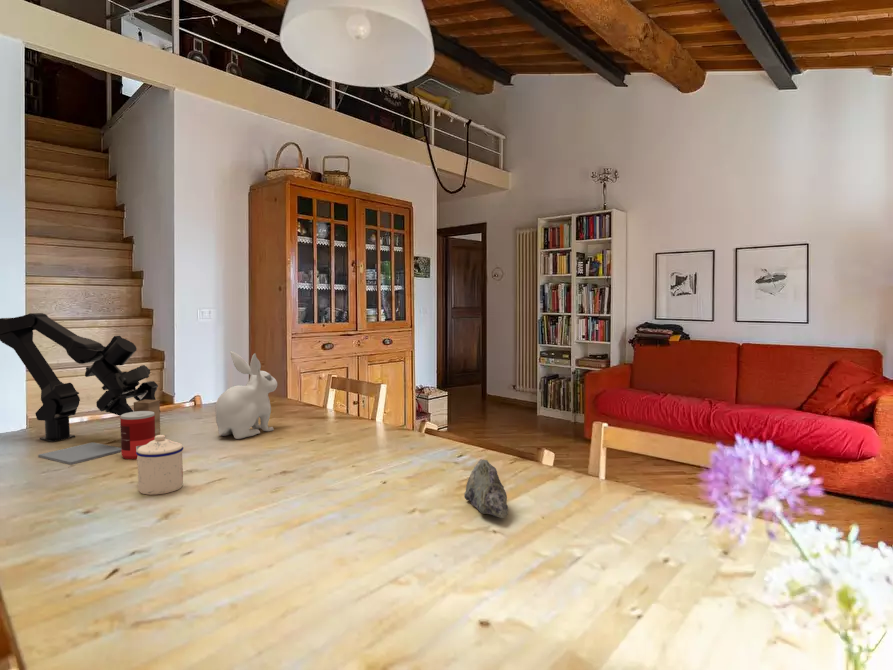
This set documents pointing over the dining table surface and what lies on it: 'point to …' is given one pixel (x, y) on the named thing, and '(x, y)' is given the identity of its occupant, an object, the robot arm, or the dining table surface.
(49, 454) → the flat gray square pad
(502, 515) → the mineral rock
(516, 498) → the dining table surface
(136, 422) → the canned food
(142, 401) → the wooden block
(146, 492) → the lidded ceramic jar
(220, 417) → the rabbit
